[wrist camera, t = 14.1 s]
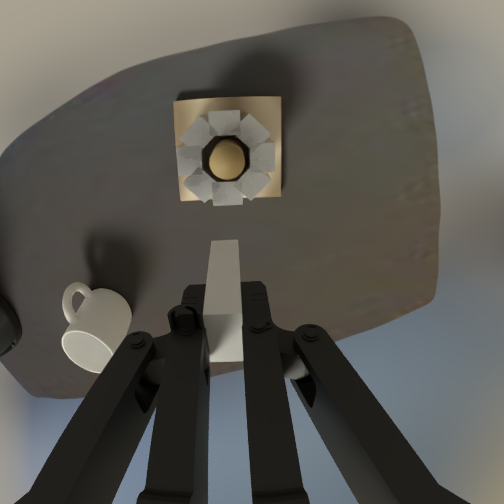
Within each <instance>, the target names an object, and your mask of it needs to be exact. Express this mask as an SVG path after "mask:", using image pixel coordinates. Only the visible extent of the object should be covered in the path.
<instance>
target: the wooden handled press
mask: <svg viewBox="0 0 504 504" xmlns="http://www.w3.org/2000/svg"><path fill="white" fill-rule="evenodd" d="M173 105H174V124H175V140H176V147H177V146H179V145H180V144H181V143H183V142H182V141H181V140H180V139H179V138H180V137H181V136H182V135H183V134H184V132H185V131H186V130H187V129H188V128H189V127H190V126H191V125H192V123H193V122H194V121H195V120H196V119H197V118H198V117H199V116H200V115H205V114H207V115H208V112H209V111H221V110H240V118H241V117H242V116H243V115H244V114H245V113H249V114H250V115H251V116H253V117H254V118H255V119H256V120H257V121H258V122H259V123H260V124H261V125H262V126H263V127H264V128H265V129H267V130H268V131H269V132H270V133H271V135H270V136H269V138H270V139H271V140H273V141H274V142H275V172H268V174H269V176H270V178H271V181H270V182H269V183H268V184H267V185H266V186H265V187H264V188H263V189H262V190H261V191H260V192H259V193H258V194H257V195H256V196H255V197H281V97H277V96H251V97H222V98H205V99H193V100H182V101H173ZM176 154H177V153H176ZM246 156H247V145H246V144H245V143H244V142H242V141H241V140H240V139H239V138H238V137H237V136H236V135H222V136H214V137H213V138H212V139H211V140H210V142H209V143H208V158H209V159H210V161H209V164H210V168H211V170H212V172H213V173H214V174H215V175H216V176H217V177H219V178H221V179H233V178H235V177H237V176H238V175H239V174H240V173H241V172H242V171H243V169H244V165H245V159H244V158H245V157H246ZM187 177H188V176H180V177H178V178H179V189H180V199H181V201H190V200H201V199H199V198H198V197H197V196H196V195H195V194H193V193H192V192H191V191H190V190H189V189H187V188H186V187H185V186H184V185H183V183H184V181H185V180H186V178H187ZM242 198H247V197H246V196H245V195H244V194H242ZM209 199H213V195H212V196H211V197H210V198H209Z"/></svg>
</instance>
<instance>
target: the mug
mask: <svg viewBox="0 0 504 504" xmlns="http://www.w3.org/2000/svg"><path fill="white" fill-rule="evenodd" d="M76 291H79V292H81V293H82V294H83V295H84V296H85V299H84V301H83V302H82V304H81V306H80V307H79V309H78V311H77V312H76V314H75V312H74V310H73V307H72V296H73V294H74V293H75V292H76ZM62 305H63V311H64V314H65V316H66V318H67V320H68V322H69V326H68V328H67V330H66V331H65V333H64V335H63V337H62V347H63V349H64V351H65V353H66V354H67V356H68V357H69V358H70V359H71V360H72V361H73V362H74V363H76V364H77V365H78V366H80V367H82V368H84V369H86V370H88V371H91V372H96V373H101V372H102V370H103V369H104V367H105V366H106V364H107V363H108V362H109V360H110V359H111V357H112V356H113V354H114V353H115V351H116V350H117V348H118V347H119V345H120V344H121V342H122V341H123V340H124V338H125V336H126V333H127V330H128V328H129V325H130V322H131V317H132V313H131V309H130V306H129V304H128V303H127V301H126V300H125V299H124V298H123V297H122V296H121V295H119V294H118V293H116V292H115V291H112V290H110V289H105V288H99V289H95V290H93V291H91V289H90V288H89V287H87V286H86V285H85V284H83V283H80V282H75V283H72V284H70V285H69V286H68V287H67V288H66V290H65V292H64V295H63V300H62Z"/></svg>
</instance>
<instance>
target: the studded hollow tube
mask: <svg viewBox="0 0 504 504" xmlns="http://www.w3.org/2000/svg"><path fill="white" fill-rule="evenodd" d="M222 135H236V136H237V137H238V138H239V139H240V140H241V141H242V142H244V143H245V144H246V145H247V156H246V157H245V158H244V159H245V165H244V169H243V171H242V172H241V173H240V174H239V175H238V176H237V177H235V178H233V179H221V178H219V177H217V176H216V175H215V174H214V173H213V172H212V170H211V168H210V164H209V161H210V159H209V158H208V143H209V142H210V140H211V139H212V138H213V137H214V136H222ZM270 135H271V133H270V132H269V131H268V130H267V129H265V128H264V127H263V126H262V125H261V124H260V123H259V122H258V121H257V120H256V119H255V118H254V117H253V116H251V115H250V114H249V113H245V114H244V115H243V116H242V117H241V118H240V110H221V111H209V112H208V115H207V114H205V115H200V116H199V117H198V118H197V119H196V120H195V121H194V122H193V123H192V125H191V126H190V127H189V128H188V129H187V130H186V131H185V132H184V134H183V135H182V136H181V137H180V138H179V139H180V140H181V141H182V142H183V143H181V144H180V145H179V146H177V147H176V153H177V166H178V177H180V176H188V177H187V178H186V180H185V181H184V183H183V185H184V186H185V187H186V188H187V189H189V190H190V191H191V192H192V193H193V194H195V195H196V196H197V197H198V198H199V199H201V200H202V201H203V202H204V203H205V202H206V201H207V200H208V199H209V198H210V197H211V196H212V195H213V206H221V205H243V200H242V194H244V195H245V196H246V197H247V198H248V199H249V200H250V201H251V200H252V199H253V198H254V197H255V196H256V195H257V194H258V193H259V192H260V191H261V190H262V189H263V188H264V187H265V186H266V185H267V184H268V183H269V182H270V181H271V178H270V176H269V174H268V172H275V142H274V141H273V140H271V139H270V138H269V136H270Z"/></svg>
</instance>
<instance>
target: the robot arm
mask: <svg viewBox="0 0 504 504" xmlns="http://www.w3.org/2000/svg"><path fill="white" fill-rule="evenodd" d="M167 315H168V319H169V323H170V328H171V332H170V333H168V334H166V335H163V336H160V337H155V338H152V336H151V335H150V334H149V333H147V332H142V331H138V332H133V333H131V334H129V335H127V336H126V337H125V338H124V340H123V341H122V342H121V344H120V345H119V347H118V348H117V350H116V351H115V353H114V354H113V356H112V357H111V359H110V360H109V362H108V363H107V364H106V366H105V367H104V369H103V370H102V372H101V373H100V375H99V377H98V378H97V380H96V381H95V383H94V384H93V386H92V387H91V389H90V390H89V392H88V393H87V395H86V396H85V398H84V400H83V401H82V403H81V405H80V406H79V407H78V409H77V411H76V412H75V414H74V416H73V417H72V419H71V420H70V422H69V424H68V425H67V427H66V429H65V430H64V432H63V433H62V435H61V437H60V438H59V440H58V442H57V443H56V445H55V447H54V449H53V450H52V452H51V454H50V455H49V457H48V459H47V461H46V462H45V464H44V466H43V468H42V470H41V471H40V473H39V475H38V477H37V478H36V480H35V482H34V484H33V486H32V488H31V489H30V491H29V492H28V493H27V494H25V495H24V496H23V497H22V498H20V499H19V500H18V501H17V502H16V503H14V504H112V502H113V499H114V497H115V495H116V493H117V490H118V488H119V486H120V484H121V482H122V479H123V477H124V475H125V473H126V471H127V468H128V466H129V464H130V462H131V460H132V457H133V455H134V453H135V451H136V449H137V446H138V444H139V442H140V440H141V438H142V436H143V434H144V431H145V429H146V427H147V425H148V423H149V420H150V419H151V416H152V414H153V412H154V410H155V408H156V414H155V420H154V426H153V433H152V439H151V446H150V454H149V461H148V470H147V478H146V485H145V489H144V491H142V492H141V493H140V494H139V496H138V498H137V503H136V504H208V430H209V396H210V366H209V357H210V362H231V361H243V362H244V379H245V397H246V413H247V429H248V444H249V459H250V472H251V473H250V474H251V488H252V502H253V504H310V503H309V498H308V495H307V493H306V491H305V490H304V488H303V483H302V477H301V471H300V465H299V459H298V454H297V448H296V442H295V436H294V430H293V425H292V419H291V414H290V408H289V402H288V396H287V391H286V385H285V379H284V378H289V379H290V380H291V383H292V385H293V387H294V388H295V390H296V392H297V394H298V396H299V398H300V400H301V401H302V403H303V405H304V407H305V409H306V411H307V412H308V414H309V416H310V418H311V420H312V422H313V424H314V425H315V427H316V429H317V431H318V433H319V434H320V436H321V438H322V440H323V442H324V443H325V445H326V447H327V449H328V451H329V452H330V454H331V456H332V458H333V459H334V461H335V463H336V465H337V467H338V468H339V470H340V471H341V474H342V475H343V477H344V479H345V481H346V482H347V484H348V486H349V488H350V489H351V491H352V493H353V494H354V496H355V498H356V500H357V501H358V503H359V504H470V503H468V502H467V501H465V500H463V499H462V498H460V497H458V496H456V495H455V494H453V493H452V492H450V491H448V490H447V489H445V488H443V487H442V486H440V485H439V484H438V483H437V482H436V480H435V479H434V477H433V476H432V475H431V473H430V472H429V470H428V469H427V468H426V466H425V465H424V463H423V462H422V461H421V459H420V458H419V456H418V455H417V454H416V452H415V451H414V450H413V448H412V447H411V446H410V444H409V443H408V441H407V440H406V439H405V437H404V436H403V434H402V433H401V432H400V430H399V429H398V428H397V426H396V425H395V424H394V422H393V421H392V419H391V418H390V417H389V415H388V414H387V413H386V411H385V410H384V409H383V407H382V406H381V405H380V403H379V402H378V400H377V399H376V398H375V396H374V395H373V394H372V392H371V391H370V390H369V389H368V387H367V386H366V384H365V383H364V382H363V380H362V379H361V378H360V376H359V375H358V373H357V372H356V371H355V370H354V368H353V367H352V365H351V364H350V363H349V361H348V360H347V359H346V357H345V356H344V355H343V353H342V352H341V351H340V349H339V348H338V347H337V345H336V344H335V343H334V341H333V340H332V339H331V337H330V336H329V335H328V333H327V332H326V331H325V330H324V329H323V328H322V327H320V326H318V325H314V324H305V325H302V326H299V327H298V328H297V329H296V330H295V332H294V331H287V330H283V329H281V328H279V327H277V326H276V325H275V324H274V323H273V321H272V319H271V313H270V308H269V302H268V296H267V291H266V286H265V285H264V284H263V283H262V282H261V281H252V282H240V267H239V248H238V240H220V241H212V242H211V250H210V258H209V265H208V274H207V282H206V284H200V285H189V286H188V287H187V288H186V289H185V290H184V292H183V297H182V302H181V305H178V306H175V307H173V308H172V309H171V310H170V311H169V312H168V314H167ZM21 335H22V331H21V326H20V323H19V321H18V318H17V317H16V315H15V313H14V311H13V310H12V308H11V307H10V306H9V304H8V303H7V302H6V301H5V300H4V299H3V298H2V297H1V296H0V357H2V356H3V355H5V354H6V353H7V352H9V351H10V350H12V349H13V348H14V347H15V346H16V345H17V344H18V342H19V340H20V339H21ZM156 406H157V407H156Z"/></svg>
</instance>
